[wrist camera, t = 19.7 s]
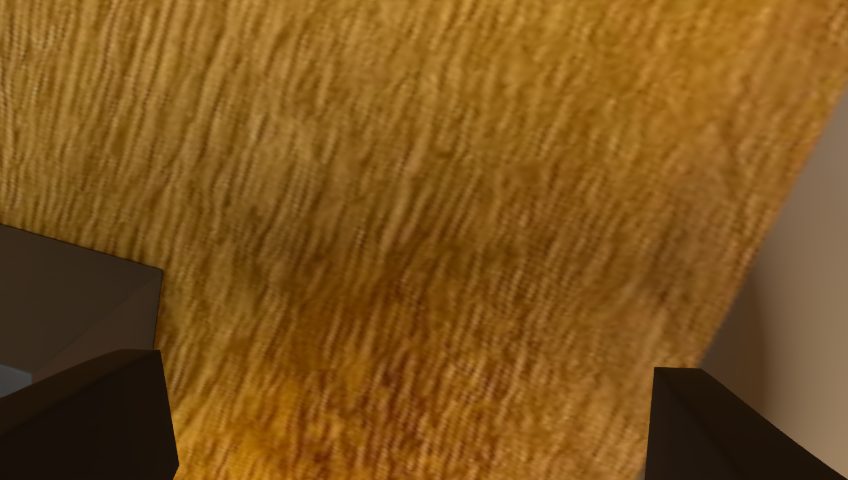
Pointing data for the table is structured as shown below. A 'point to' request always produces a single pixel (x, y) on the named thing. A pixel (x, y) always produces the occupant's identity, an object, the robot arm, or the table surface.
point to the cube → (68, 306)
